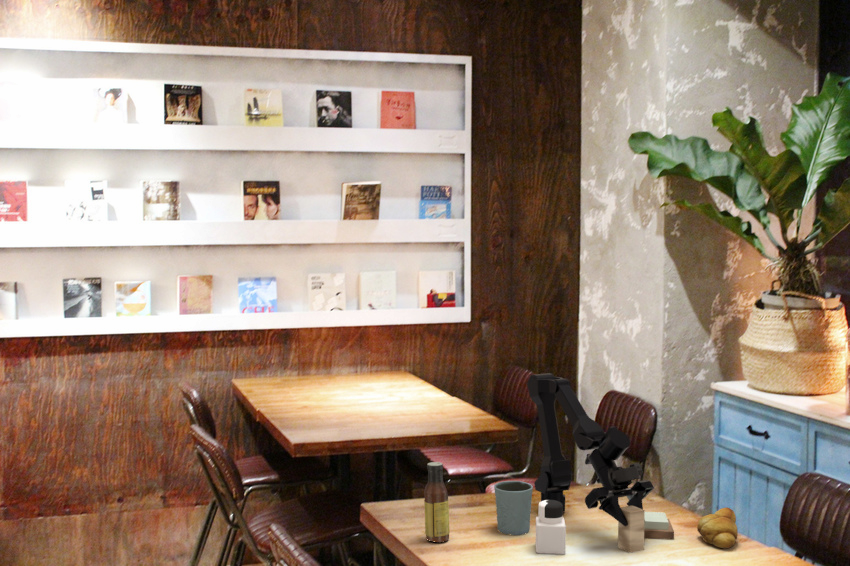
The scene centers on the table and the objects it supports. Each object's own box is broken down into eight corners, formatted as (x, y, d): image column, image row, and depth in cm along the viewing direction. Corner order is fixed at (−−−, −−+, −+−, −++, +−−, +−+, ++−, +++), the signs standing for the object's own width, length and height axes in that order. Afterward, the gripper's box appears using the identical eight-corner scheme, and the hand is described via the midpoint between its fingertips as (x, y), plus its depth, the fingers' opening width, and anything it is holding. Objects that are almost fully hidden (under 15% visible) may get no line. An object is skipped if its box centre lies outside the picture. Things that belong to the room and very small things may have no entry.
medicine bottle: (563, 544, 222) (564, 498, 221) (565, 554, 215) (566, 506, 214) (535, 543, 223) (535, 497, 222) (536, 553, 215) (536, 505, 215)
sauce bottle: (452, 537, 227) (452, 461, 226) (445, 545, 221) (445, 467, 220) (428, 534, 229) (428, 459, 228) (420, 542, 223) (420, 465, 222)
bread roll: (741, 552, 217) (742, 520, 217) (700, 549, 219) (701, 518, 219) (733, 535, 230) (734, 505, 229) (695, 533, 232) (695, 503, 231)
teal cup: (537, 527, 236) (537, 483, 235) (525, 538, 226) (525, 492, 226) (501, 522, 240) (501, 478, 239) (488, 533, 231) (488, 488, 230)
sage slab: (635, 528, 229) (635, 520, 229) (632, 518, 237) (632, 510, 237) (668, 530, 227) (668, 522, 227) (664, 519, 236) (664, 512, 236)
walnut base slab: (630, 537, 228) (630, 529, 228) (627, 523, 239) (627, 516, 239) (673, 539, 226) (674, 531, 226) (668, 526, 237) (669, 518, 237)
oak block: (617, 547, 220) (618, 507, 220) (631, 544, 223) (632, 505, 222) (630, 552, 216) (630, 512, 216) (643, 549, 219) (644, 510, 218)
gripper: (592, 457, 218) (621, 512, 208) (649, 449, 226) (680, 502, 217) (572, 480, 225) (599, 535, 216) (628, 472, 234) (657, 524, 224)
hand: (635, 523), depth 218 cm, fingers open, 5 cm apart
